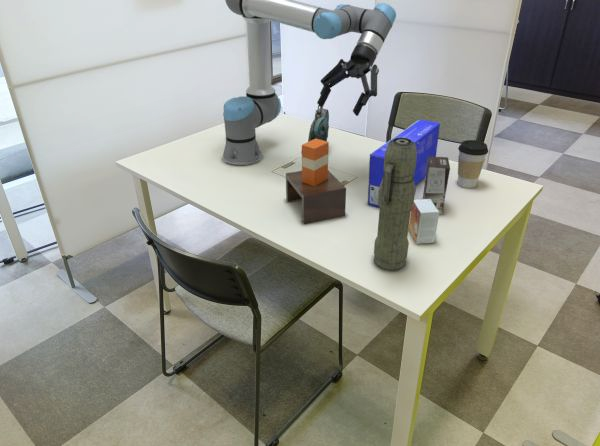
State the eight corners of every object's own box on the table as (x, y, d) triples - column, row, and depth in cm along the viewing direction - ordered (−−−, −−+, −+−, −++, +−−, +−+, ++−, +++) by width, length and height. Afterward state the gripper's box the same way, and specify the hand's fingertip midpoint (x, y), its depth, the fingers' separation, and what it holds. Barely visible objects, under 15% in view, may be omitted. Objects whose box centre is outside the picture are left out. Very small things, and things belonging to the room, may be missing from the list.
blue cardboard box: (414, 164, 187) (419, 118, 177) (434, 169, 183) (441, 122, 173) (365, 204, 160) (369, 152, 150) (388, 211, 156) (393, 158, 146)
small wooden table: (286, 200, 163) (285, 173, 158) (324, 193, 167) (324, 166, 162) (303, 224, 149) (303, 195, 144) (345, 216, 154) (346, 188, 148)
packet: (301, 182, 152) (301, 144, 146) (315, 174, 157) (315, 138, 150) (314, 186, 149) (314, 148, 143) (328, 178, 154) (328, 141, 148)
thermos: (413, 256, 134) (429, 137, 116) (395, 278, 126) (409, 153, 108) (384, 246, 138) (396, 130, 120) (365, 266, 130) (374, 144, 112)
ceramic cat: (317, 145, 205) (317, 98, 195) (332, 146, 204) (333, 99, 193) (305, 163, 189) (304, 113, 178) (321, 165, 187) (321, 115, 177)
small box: (408, 229, 146) (412, 199, 141) (426, 228, 146) (430, 198, 141) (415, 244, 139) (420, 212, 134) (434, 243, 140) (439, 211, 134)
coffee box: (442, 215, 154) (450, 168, 145) (422, 213, 155) (428, 167, 146) (441, 201, 161) (448, 156, 153) (421, 199, 162) (428, 155, 154)
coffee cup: (486, 183, 172) (494, 144, 164) (473, 193, 166) (481, 152, 158) (460, 175, 178) (467, 137, 170) (447, 184, 172) (453, 145, 164)
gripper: (404, 63, 148) (375, 123, 146) (338, 53, 162) (311, 108, 160) (397, 48, 142) (366, 110, 140) (329, 38, 156) (300, 95, 153)
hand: (336, 109), depth 150 cm, fingers open, 13 cm apart
